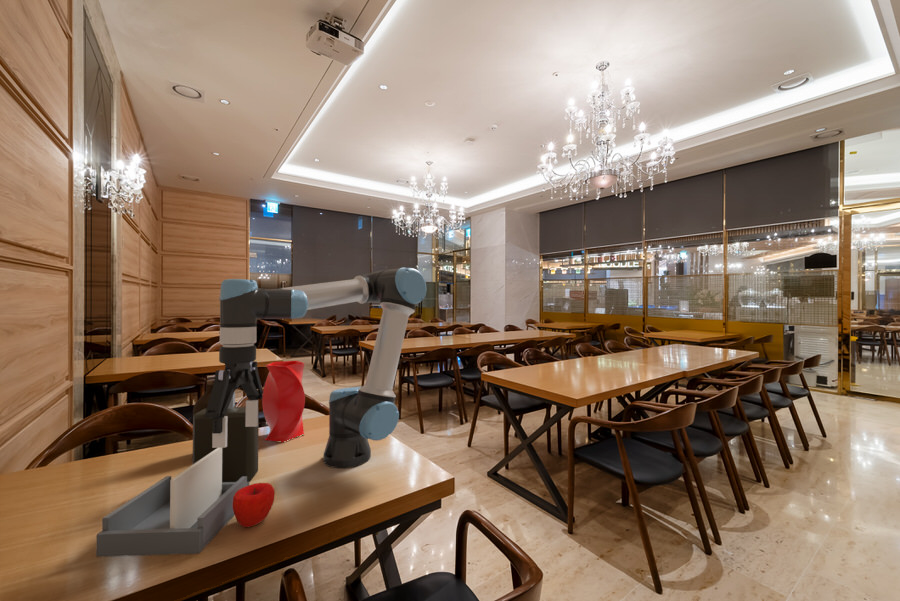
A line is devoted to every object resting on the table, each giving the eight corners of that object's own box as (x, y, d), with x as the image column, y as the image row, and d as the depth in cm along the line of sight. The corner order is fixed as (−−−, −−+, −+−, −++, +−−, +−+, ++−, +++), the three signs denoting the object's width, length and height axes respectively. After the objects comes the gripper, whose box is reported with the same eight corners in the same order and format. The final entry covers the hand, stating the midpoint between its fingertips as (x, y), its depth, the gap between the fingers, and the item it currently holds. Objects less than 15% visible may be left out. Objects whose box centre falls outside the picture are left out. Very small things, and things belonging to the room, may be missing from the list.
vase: (280, 428, 150) (280, 360, 151) (313, 429, 149) (314, 360, 149) (257, 442, 135) (257, 366, 136) (294, 444, 134) (294, 367, 134)
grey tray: (249, 498, 96) (249, 472, 96) (199, 553, 75) (199, 519, 75) (169, 500, 95) (170, 473, 95) (96, 556, 74) (96, 521, 74)
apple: (262, 534, 81) (262, 499, 81) (222, 534, 82) (223, 498, 82) (281, 511, 90) (281, 479, 90) (245, 511, 90) (246, 479, 91)
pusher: (221, 498, 94) (222, 447, 94) (174, 542, 77) (175, 479, 77) (197, 498, 94) (198, 447, 94) (144, 543, 76) (145, 480, 76)
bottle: (251, 483, 104) (251, 395, 105) (188, 488, 101) (189, 397, 102) (260, 470, 112) (261, 389, 112) (202, 475, 109) (203, 391, 110)
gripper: (249, 339, 98) (248, 419, 98) (185, 351, 74) (183, 458, 73) (277, 339, 99) (276, 419, 98) (223, 351, 74) (222, 457, 74)
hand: (236, 435), depth 86 cm, fingers open, 13 cm apart
